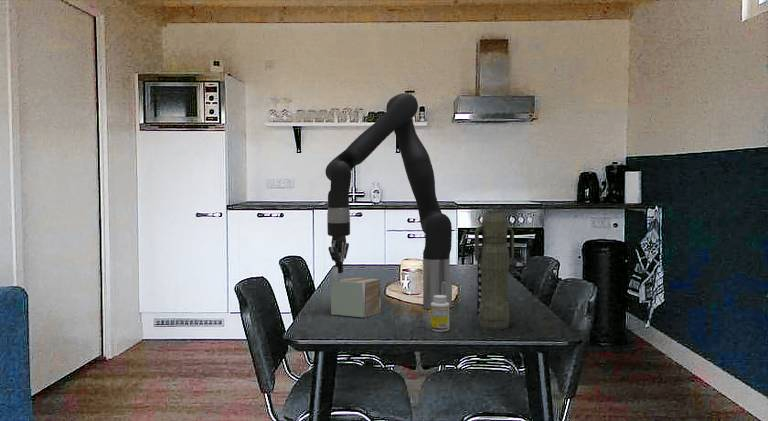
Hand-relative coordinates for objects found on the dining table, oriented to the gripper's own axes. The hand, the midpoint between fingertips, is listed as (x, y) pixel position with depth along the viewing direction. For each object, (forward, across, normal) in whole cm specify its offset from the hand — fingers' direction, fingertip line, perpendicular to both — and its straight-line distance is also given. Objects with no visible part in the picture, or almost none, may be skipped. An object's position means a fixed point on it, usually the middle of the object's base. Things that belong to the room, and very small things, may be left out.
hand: (339, 272), depth 220 cm
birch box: (+14, +2, -6) cm, 15 cm away
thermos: (+14, -4, -52) cm, 54 cm away
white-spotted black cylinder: (+14, +11, -48) cm, 52 cm away
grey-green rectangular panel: (+13, -4, -4) cm, 15 cm away
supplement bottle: (+14, -14, -38) cm, 42 cm away
